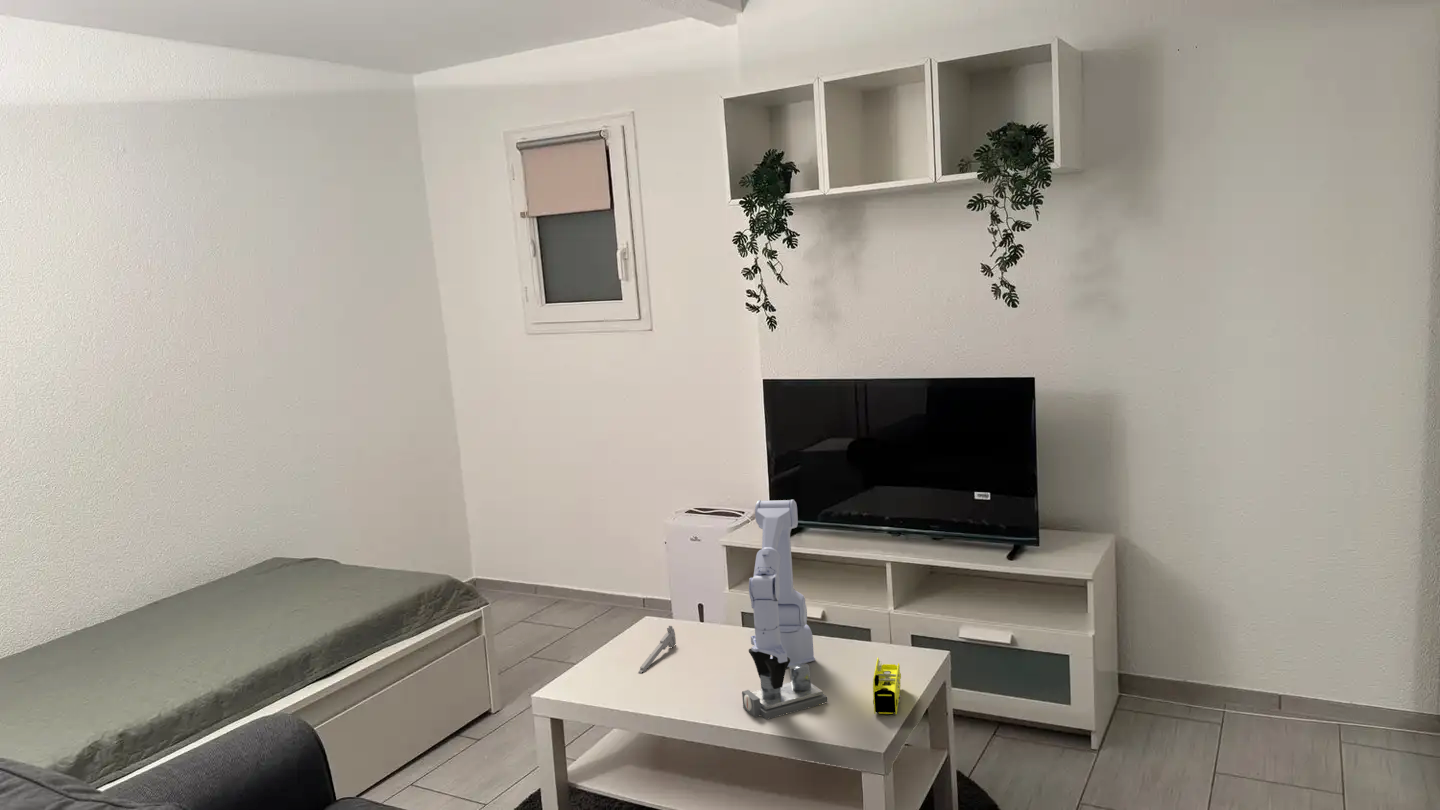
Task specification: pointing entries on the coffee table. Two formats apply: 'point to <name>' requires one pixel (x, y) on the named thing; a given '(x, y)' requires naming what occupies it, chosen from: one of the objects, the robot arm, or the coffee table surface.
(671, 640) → the caliper
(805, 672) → the block
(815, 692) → the pan
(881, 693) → the yellow toy chassis
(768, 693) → the cylinder
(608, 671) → the coffee table surface
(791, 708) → the scale base
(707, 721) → the coffee table surface
